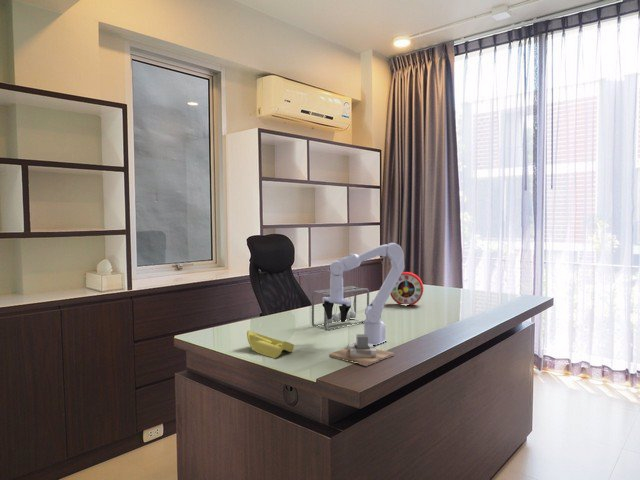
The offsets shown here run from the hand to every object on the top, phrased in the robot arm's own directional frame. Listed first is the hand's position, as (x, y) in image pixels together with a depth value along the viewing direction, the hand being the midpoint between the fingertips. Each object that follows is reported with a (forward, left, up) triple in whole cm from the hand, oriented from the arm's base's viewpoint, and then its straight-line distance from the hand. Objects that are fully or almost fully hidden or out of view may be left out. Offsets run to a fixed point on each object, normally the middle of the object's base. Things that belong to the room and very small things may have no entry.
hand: (336, 320), depth 196 cm
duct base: (+8, +20, -9) cm, 24 cm away
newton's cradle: (-26, -19, -10) cm, 33 cm away
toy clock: (-92, -22, -10) cm, 95 cm away
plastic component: (+28, -11, -10) cm, 32 cm away
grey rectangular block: (+8, +20, -8) cm, 23 cm away
